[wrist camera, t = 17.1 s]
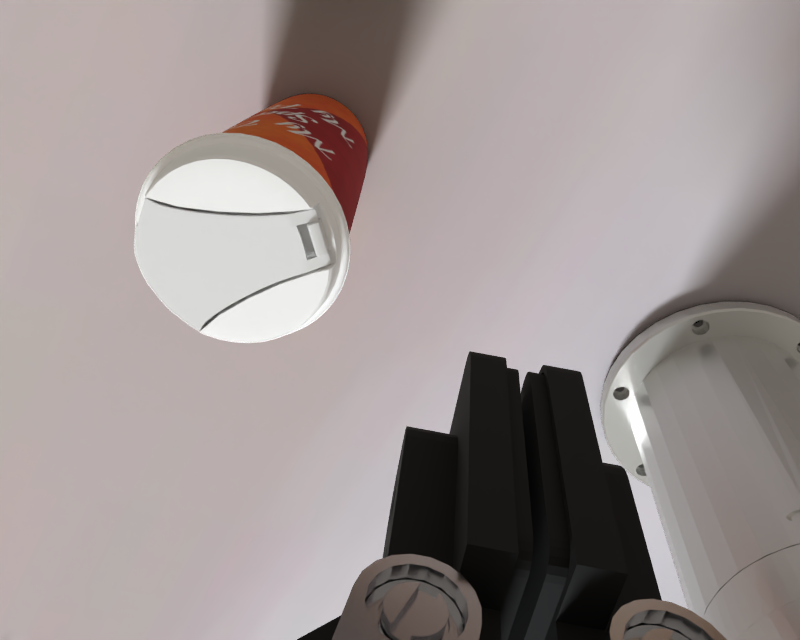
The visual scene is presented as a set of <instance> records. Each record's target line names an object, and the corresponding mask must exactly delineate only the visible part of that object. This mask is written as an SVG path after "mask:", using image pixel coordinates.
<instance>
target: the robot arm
mask: <svg viewBox="0 0 800 640" xmlns="http://www.w3.org/2000/svg"><path fill="white" fill-rule="evenodd" d="M699 320H700V321H699ZM697 321H699V322H698V323H695V322H697ZM618 387H620V388H618ZM600 410H601V422H602V426H603V430H604V434H605V438H606V441H607V443H608V445H609V447H610V449H611V452H612V454H613V455H614V456H615V458H616V459H617V460H618V462H619V463H620V464H621V466H622V467H621V466H618V465H613V464H607V463H602V459H601V454H600V450H599V446H598V441H597V437H596V433H595V429H594V424H593V420H592V416H591V412H590V407H589V403H588V399H587V394H586V390H585V386H584V382H583V377H582V374H581V372H579V371H574V370H568V369H563V368H557V367H552V366H546V365H543V366H542V368H541V370H540V372H539V374H538V373H532V372H528V373H527V375H526V377H525V380H524V383H523V387H522V390H521V394H520V383H519V372H518V370H516V369H511V368H507V364H506V358H503V357H497V356H492V355H487V354H481V353H476V352H469V354H468V357H467V361H466V365H465V369H464V374H463V378H462V382H461V387H460V391H459V395H458V400H457V404H456V408H455V412H454V417H453V421H452V425H451V430H450V434H445V433H440V432H435V431H429V430H424V429H418V428H413V427H408V426H407V427H406V430H405V435H404V440H403V445H402V450H401V455H400V460H399V465H398V470H397V475H396V481H395V486H394V492H393V497H392V503H391V509H390V515H389V521H388V527H387V534H386V540H385V547H384V553H383V558H382V559H379V560H377V561H375V562H374V563H372V564H371V565H370V566H368V567H367V568H366V569H364V570H363V571H362V572H361V574H360V575H359V577H358V579H357V580H356V582H355V583H354V585H353V587H352V590H351V593H350V595H349V598H348V600H347V603H346V605H345V608H344V610H343V613H342V615H341V616H339V617H337V618H336V619H334V620H332V621H330V622H328V623H326V624H325V625H323V626H321V627H319V628H317V629H315V630H314V631H312V632H310V633H308V634H306V635H305V636H303V637H301V638H299V639H297V640H800V320H799V319H798V318H796V317H795V316H793V315H791V314H789V313H787V312H784V311H782V310H779V309H776V308H774V307H771V306H767V305H762V304H756V303H751V302H717V303H711V304H704V305H698V306H695V307H692V308H689V309H686V310H683V311H679V312H676V313H674V314H672V315H670V316H668V317H666V318H664V319H662V320H660V321H658V322H656V323H654V324H653V325H652V326H650V327H649V328H648V329H646V330H645V331H643V332H642V333H641V334H639V335H638V336H637V337H636V338H635V339H634V340H633V341H632V342H631V343H630V344H629V345H628V346H627V347H626V348H625V349H624V350H623V351H622V352H621V353H620V355H619V356H618V358H617V359H616V361H615V362H614V364H613V365H612V367H611V368H610V371H609V373H608V376H607V378H606V381H605V383H604V386H603V390H602V396H601V402H600ZM625 470H626V471H627V472H628V473H629V474H631V475H632V476H633V477H634V478H635V479H637V480H639V481H640V482H642V483H644V484H646V485H647V486H649V487H650V488H651V491H652V494H653V497H654V501H655V504H656V507H657V510H658V513H659V517H660V520H661V523H662V526H663V530H664V533H665V536H666V539H667V542H668V546H669V549H670V552H671V555H672V559H673V562H674V565H675V568H676V571H677V575H678V578H679V581H680V584H681V588H682V591H683V594H684V597H685V600H686V604H687V607H688V609H686V608H684V607H681V606H679V605H677V604H674V603H672V602H667V601H662V600H661V596H660V592H659V589H658V585H657V581H656V578H655V574H654V571H653V567H652V563H651V560H650V556H649V552H648V549H647V545H646V541H645V538H644V534H643V530H642V527H641V523H640V520H639V516H638V512H637V509H636V505H635V501H634V498H633V494H632V490H631V487H630V483H629V479H628V476H627V474H626V471H625Z"/></svg>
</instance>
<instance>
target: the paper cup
mask: <svg viewBox="0 0 800 640" xmlns="http://www.w3.org/2000/svg"><path fill="white" fill-rule="evenodd" d="M367 162H368V145H367V140H366V136H365V133H364V130H363V128H362V126H361V124H360V123H359V121H358V119H357V118H356V117H355V115H354V114H353V113H352V112H351V111H350V110H349V109H348V108H347V107H345V106H344V105H343V104H341V103H340V102H338V101H336V100H334V99H332V98H330V97H327V96H323V95H318V94H300V95H296V96H292V97H289V98H287V99H284V100H282V101H280V102H278V103H276V104H274V105H272V106H270V107H268V108H266V109H264V110H262V111H260V112H259V113H257V114H255V115H253V116H251V117H249V118H248V119H246V120H244V121H242V122H240V123H238V124H237V125H235V126H233V127H231V128H229V129H228V130H226V131H224V132H222V133H217V134H210V135H204V136H201V137H198V138H195V139H192V140H189V141H187V142H185V143H183V144H181V145H179V146H177V147H176V148H174V149H173V150H171V151H170V152H169V153H168V154H166V155H165V156H164V157H163V158H161V159H160V161H159V162H158V163H157V164H156V165H155V166H154V168H153V169H152V170H151V171H150V173H149V175H148V176H147V178H146V180H145V182H144V183H143V186H142V188H141V191H140V194H139V197H138V200H137V207H136V213H135V236H134V252H135V257H136V260H137V263H138V266H139V268H140V271H141V273H142V275H143V277H144V279H145V281H146V282H147V284H148V285H149V287H150V288H151V289H152V290H153V291H154V293H155V294H156V295H157V297H158V298H159V300H160V301H161V302H162V303H163V304H164V305H165V306H166V307H167V308H168V309H169V310H170V311H171V312H172V313H174V314H175V315H176V316H177V317H179V318H180V319H181V320H183V321H184V322H185V323H187V324H188V325H190V326H191V327H193V328H194V329H196V330H197V331H199V332H200V333H202V334H204V335H207V336H210V337H213V338H216V339H219V340H224V341H230V342H237V343H256V342H265V341H269V340H273V339H277V338H280V337H282V336H284V335H287V334H290V333H293V332H295V331H298V330H300V329H302V328H304V327H306V326H308V325H309V324H311V323H312V322H314V321H316V320H317V319H318V318H319V317H320V316H321V315H322V314H324V313H325V312H326V311H327V310H328V309H329V307H330V306H331V305H332V304H333V302H334V301H335V300H336V298H337V296H338V295H339V293H340V291H341V289H342V287H343V285H344V282H345V279H346V276H347V273H348V269H349V262H350V255H351V252H350V235H349V234H350V230H351V226H352V223H353V219H354V216H355V212H356V208H357V205H358V201H359V197H360V193H361V190H362V186H363V182H364V178H365V173H366V169H367Z"/></svg>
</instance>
